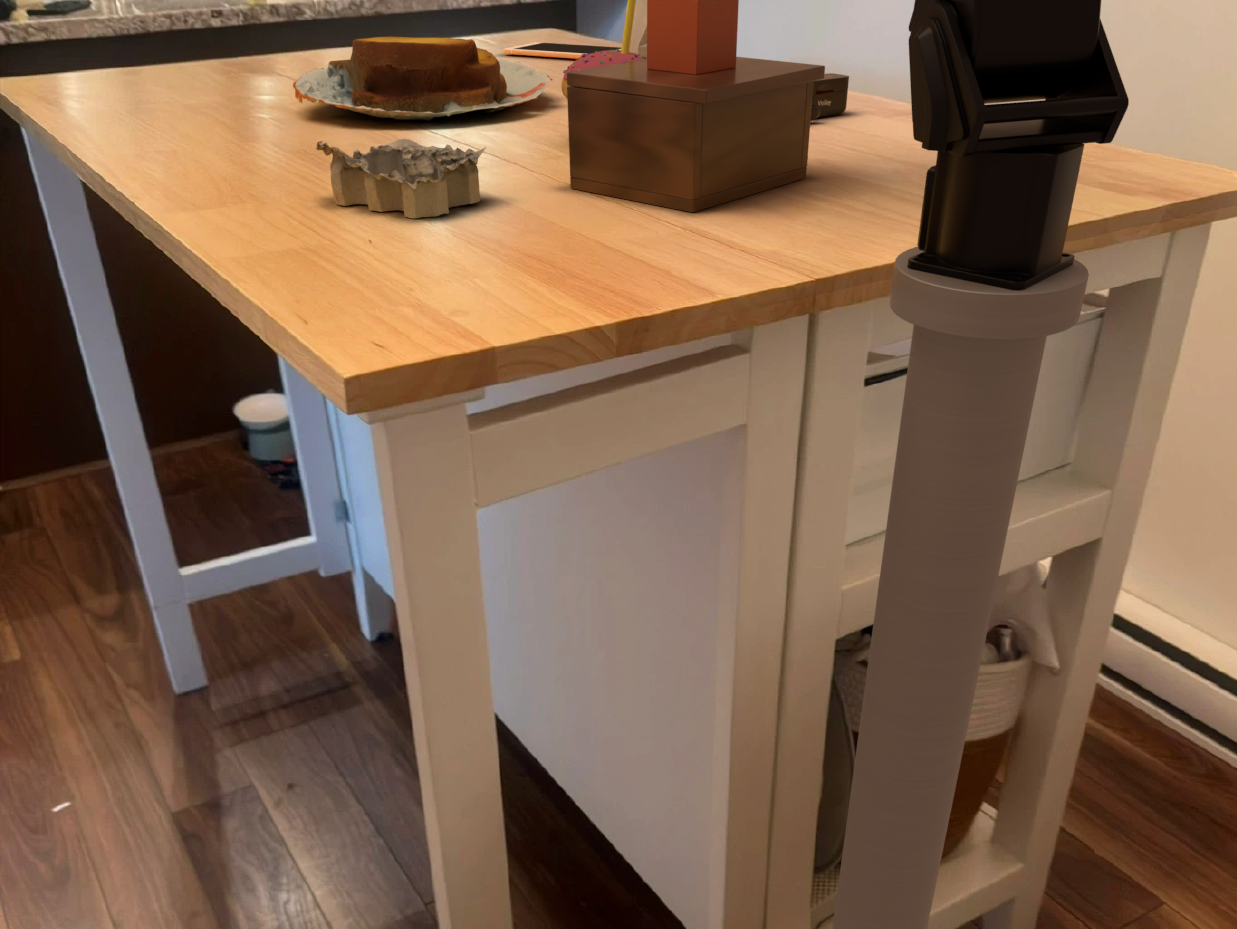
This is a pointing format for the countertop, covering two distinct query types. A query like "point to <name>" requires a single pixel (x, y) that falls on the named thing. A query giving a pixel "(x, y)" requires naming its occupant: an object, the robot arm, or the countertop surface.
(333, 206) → the countertop surface
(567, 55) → the cell phone
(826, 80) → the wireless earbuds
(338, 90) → the food on plate
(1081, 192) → the countertop surface
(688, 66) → the block
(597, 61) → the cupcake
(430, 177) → the egg carton
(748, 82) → the lid
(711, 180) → the chest
